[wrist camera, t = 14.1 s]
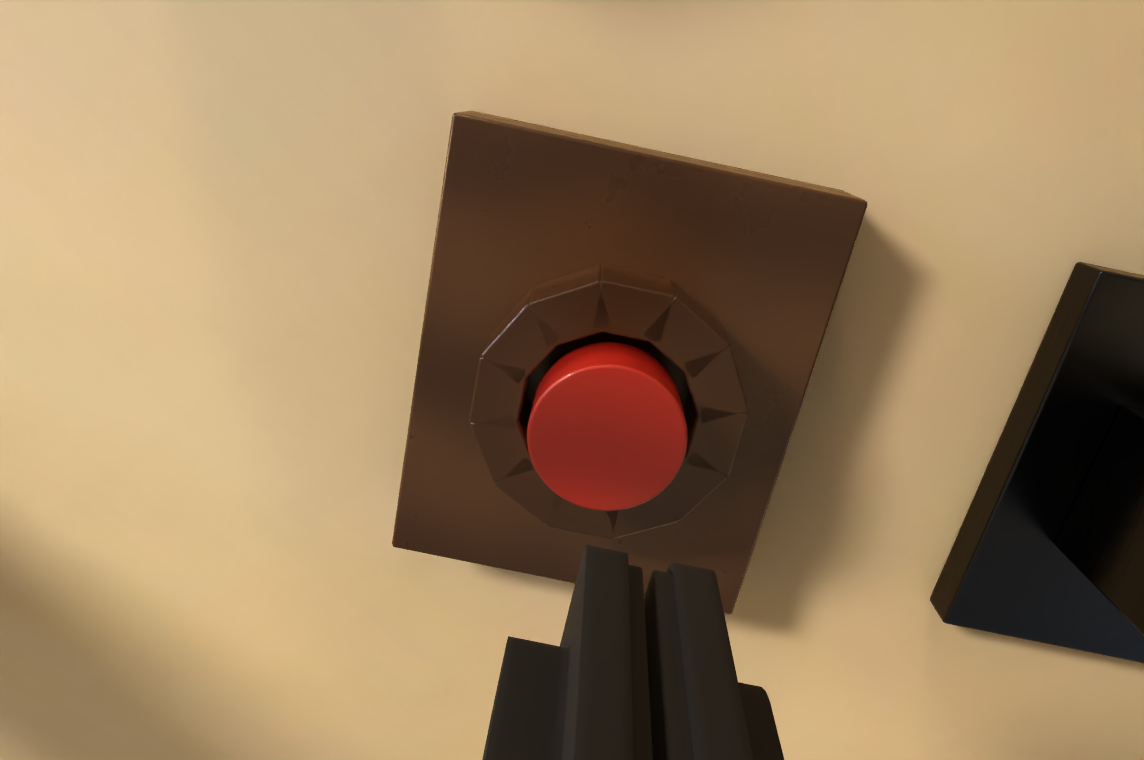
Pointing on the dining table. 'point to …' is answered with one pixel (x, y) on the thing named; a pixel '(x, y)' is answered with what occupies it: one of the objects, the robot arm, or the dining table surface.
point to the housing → (612, 340)
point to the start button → (607, 427)
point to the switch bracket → (1065, 487)
